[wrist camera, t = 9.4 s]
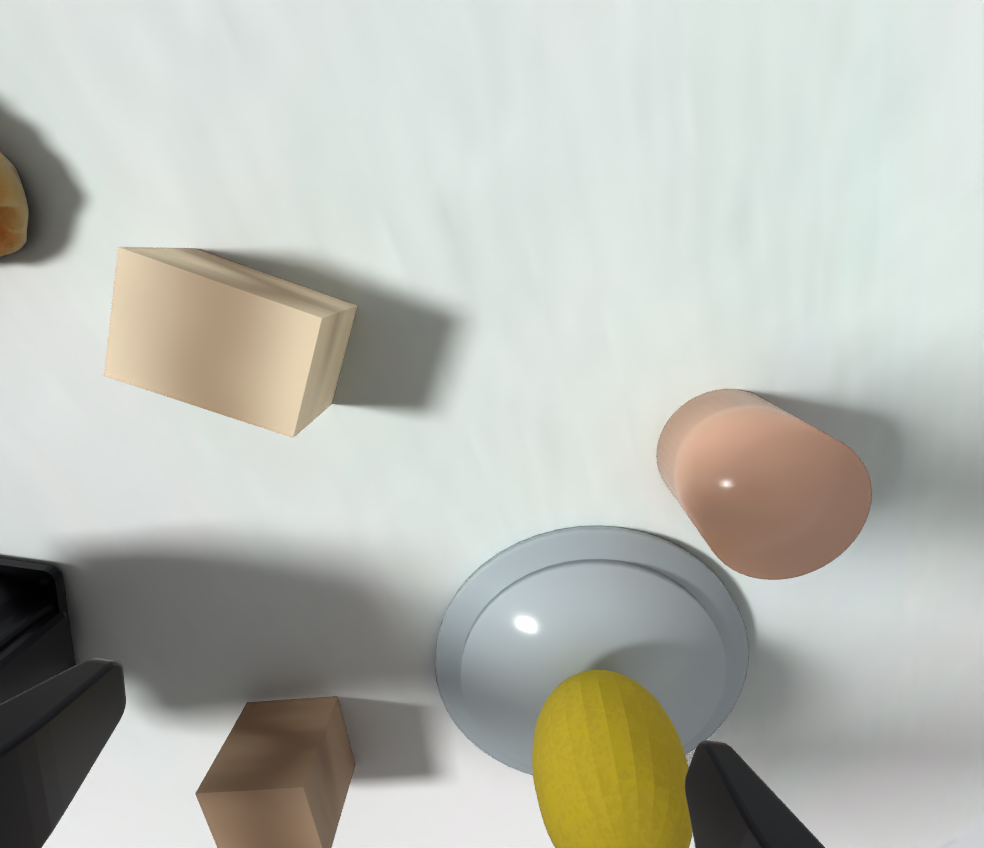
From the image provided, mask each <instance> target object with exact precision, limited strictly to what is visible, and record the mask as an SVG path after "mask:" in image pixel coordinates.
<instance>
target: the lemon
mask: <svg viewBox="0 0 984 848" xmlns="http://www.w3.org/2000/svg"><path fill="white" fill-rule="evenodd" d="M532 769H533V779H534V784H535V790H536V794H537V798H538V803H539V807H540V811H541V814H542V818H543V821H544V824H545V827H546V830H547V832H548V835H549V837H550V839H551V841H552V843H553V845H554V846H555V848H689V846H690V842H691V838H692V826H691V821H690V816H689V811H688V805H687V800H686V794H685V778H686V774H687V771H688V769H689V767H688V764H687V760H686V757H685V753H684V750H683V746H682V743H681V740H680V738H679V735H678V733H677V731H676V729H675V727H674V725H673V723H672V721H671V720H670V718H669V716H668V715H667V713H666V712H665V711H664V709H663V708H662V706H661V705H660V703H659V702H658V701H657V699H656V698H655V697H654V696H653V695H652V694H651V693H650V692H649V691H648V690H646V689H645V688H644V687H643V686H642V685H640V684H639V683H638V682H636V681H635V680H633V679H631V678H629V677H627V676H624V675H622V674H620V673H617V672H613V671H608V670H589V671H584V672H580V673H578V674H575V675H573V676H570V677H569V678H567V679H566V680H564V681H563V682H562V683H560V684H559V685H558V686H557V687H556V688H555V689H554V691H553V692H552V693H551V694H550V695H549V696H548V698H547V700H546V701H545V703H544V705H543V707H542V710H541V712H540V714H539V717H538V719H537V723H536V727H535V733H534V741H533V752H532Z"/></svg>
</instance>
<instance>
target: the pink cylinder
mask: <svg viewBox="0 0 984 848" xmlns="http://www.w3.org/2000/svg"><path fill="white" fill-rule="evenodd" d="M656 457H657V465H658V470H659V473H660V475H661V478H662V479H663V481H664V483H665V484H666V486H667V487H668V488H669V490H670V491H671V493H672V494H673V496H674V497H675V498H676V500H677V501H678V503H679V504H680V506H681V507H682V508H683V510H684V511H685V513H686V514H687V515H688V517H689V518H690V520H691V521H692V523H693V524H694V525H695V527H696V528H697V530H698V531H699V533H700V534H701V535H702V537H703V538H704V540H705V541H706V542H707V544H708V545H709V547H710V548H711V550H712V551H713V552H714V554H715V555H716V556H717V557H718V558H719V559H720V560H721V561H722V562H723V563H724V564H725V565H727V566H728V567H730V568H731V569H733V570H735V571H737V572H739V573H741V574H744V575H747V576H749V577H754V578H759V579H768V580H778V579H788V578H794V577H798V576H802V575H805V574H807V573H810V572H813V571H815V570H817V569H819V568H821V567H823V566H825V565H826V564H828V563H830V562H831V561H833V560H834V559H835V558H837V557H838V556H839V555H841V554H842V553H843V552H844V551H845V550H846V549H847V548H848V547H849V546H850V545H851V544H852V542H853V541H854V540H855V539H856V537H857V536H858V534H859V533H860V531H861V530H862V528H863V526H864V524H865V522H866V519H867V516H868V514H869V510H870V505H871V496H872V490H871V482H870V478H869V474H868V472H867V470H866V467H865V465H864V464H863V462H862V461H861V459H860V458H859V457H858V456H857V454H856V453H855V452H854V451H853V450H852V449H850V448H849V447H848V446H846V445H845V444H843V443H842V442H840V441H838V440H836V439H835V438H833V437H831V436H829V435H827V434H826V433H824V432H822V431H820V430H818V429H817V428H815V427H813V426H811V425H809V424H808V423H806V422H804V421H802V420H800V419H799V418H797V417H795V416H793V415H791V414H790V413H788V412H786V411H784V410H782V409H781V408H779V407H777V406H775V405H773V404H772V403H770V402H768V401H766V400H764V399H763V398H761V397H759V396H757V395H755V394H753V393H750V392H747V391H743V390H737V389H721V390H715V391H711V392H707V393H704V394H702V395H699V396H697V397H695V398H693V399H691V400H690V401H688V402H687V403H685V404H684V405H683V406H681V407H680V408H679V409H678V410H677V411H676V412H675V413H674V414H673V415H672V416H671V418H670V419H669V420H668V422H667V423H666V425H665V426H664V428H663V430H662V432H661V435H660V438H659V441H658V446H657V456H656Z"/></svg>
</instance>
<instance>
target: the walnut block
mask: <svg viewBox="0 0 984 848" xmlns="http://www.w3.org/2000/svg"><path fill="white" fill-rule="evenodd" d="M354 767H355V762H354V758H353V754H352V751H351V747H350V743H349V739H348V735H347V732H346V728H345V724H344V720H343V716H342V712H341V709H340V705H339V701H338V697H337V696H336V697H321V698H307V699H293V700H278V701H264V702H249V703H247V704H246V706H245V707H244V709H243V711H242V713H241V714H240V716H239V718H238V720H237V721H236V723H235V725H234V727H233V728H232V730H231V732H230V734H229V735H228V737H227V739H226V741H225V743H224V744H223V746H222V748H221V750H220V751H219V753H218V755H217V757H216V758H215V760H214V762H213V764H212V765H211V767H210V769H209V771H208V772H207V774H206V776H205V778H204V779H203V781H202V783H201V785H200V786H199V788H198V790H197V792H196V793H195V794H196V796H197V799H198V801H199V804H200V806H201V809H202V811H203V813H204V816H205V818H206V821H207V823H208V826H209V828H210V831H211V833H212V836H213V838H214V840H215V843H216V845H217V848H331V847H332V844H333V840H334V837H335V833H336V830H337V826H338V823H339V819H340V816H341V812H342V809H343V805H344V802H345V799H346V795H347V792H348V788H349V785H350V781H351V778H352V774H353V771H354Z"/></svg>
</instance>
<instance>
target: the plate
mask: <svg viewBox="0 0 984 848" xmlns="http://www.w3.org/2000/svg"><path fill="white" fill-rule="evenodd" d="M747 666H748V639H747V634H746V629H745V625H744V622H743V620H742V617H741V614H740V612H739V609H738V608H737V606H736V604H735V602H734V601H733V599H732V597H731V596H730V594H729V592H728V591H727V589H726V588H725V586H724V585H723V584H722V583H721V581H720V580H719V579H718V578H717V576H716V575H715V574H714V573H713V572H712V571H711V570H710V569H709V568H708V567H707V566H706V565H705V564H704V563H702V562H701V561H700V560H699V559H698V558H696V557H695V556H693V555H692V554H690V553H689V552H687V551H686V550H685V549H683V548H681V547H679V546H677V545H675V544H673V543H671V542H669V541H667V540H665V539H663V538H660V537H657V536H654V535H651V534H648V533H645V532H641V531H636V530H631V529H626V528H619V527H608V526H582V527H573V528H566V529H559V530H555V531H551V532H547V533H543V534H539V535H536V536H533V537H531V538H528V539H526V540H523V541H521V542H518V543H516V544H514V545H512V546H511V547H509V548H507V549H505V550H503V551H501V552H499V553H498V554H496V555H495V556H494V557H492V558H491V559H489V560H488V561H487V562H485V563H484V564H483V565H481V566H480V567H479V568H478V569H477V570H476V571H475V572H474V573H473V574H472V575H471V576H470V577H469V578H468V579H467V580H466V581H465V583H464V584H463V585H462V586H461V587H460V589H459V590H458V591H457V593H456V594H455V596H454V598H453V599H452V601H451V603H450V604H449V606H448V608H447V610H446V613H445V615H444V618H443V620H442V623H441V627H440V632H439V636H438V641H437V647H436V659H435V669H436V679H437V684H438V688H439V691H440V695H441V698H442V700H443V702H444V705H445V707H446V709H447V711H448V713H449V714H450V716H451V717H452V719H453V721H454V722H455V724H456V725H457V726H458V727H459V729H460V730H461V731H462V732H463V733H464V735H465V736H466V737H467V738H468V739H469V740H471V741H472V742H473V743H474V744H475V745H476V746H477V747H478V748H480V749H481V750H482V751H484V752H485V753H487V754H488V755H490V756H491V757H492V758H494V759H496V760H498V761H500V762H502V763H503V764H505V765H507V766H509V767H512V768H514V769H517V770H519V771H522V772H524V773H527V774H531V775H533V769H532V752H533V741H534V733H535V727H536V723H537V719H538V717H539V714H540V712H541V710H542V707H543V705H544V703H545V701H546V700H547V698H548V696H549V695H550V694H551V693H552V692H553V691H554V689H555V688H556V687H557V686H558V685H559V684H560V683H562V682H563V681H564V680H566V679H567V678H569V677H570V676H573V675H575V674H578V673H580V672H584V671H589V670H608V671H613V672H617V673H620V674H622V675H624V676H627V677H629V678H631V679H633V680H635V681H636V682H638V683H639V684H640V685H642V686H643V687H644V688H645V689H646V690H648V691H649V692H650V693H651V694H652V695H653V696H654V697H655V698H656V699H657V701H658V702H659V703H660V705H661V706H662V708H663V709H664V711H665V712H666V713H667V715H668V716H669V718H670V720H671V721H672V723H673V725H674V727H675V729H676V731H677V733H678V735H679V738H680V740H681V743H682V746H683V750H684V753H685V755H686V754H687V753H689V752H690V751H692V750H693V749H695V748H696V747H697V745H698V743H700V742H701V741H703V740H706V739H707V738H708V737H709V736H710V735H712V734H713V733H714V731H715V730H716V729H717V728H718V727H719V726H720V725H721V724H722V722H723V721H724V720H725V719H726V717H727V716H728V714H729V713H730V711H731V710H732V708H733V707H734V705H735V703H736V701H737V699H738V697H739V695H740V693H741V690H742V687H743V684H744V680H745V677H746V673H747Z"/></svg>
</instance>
